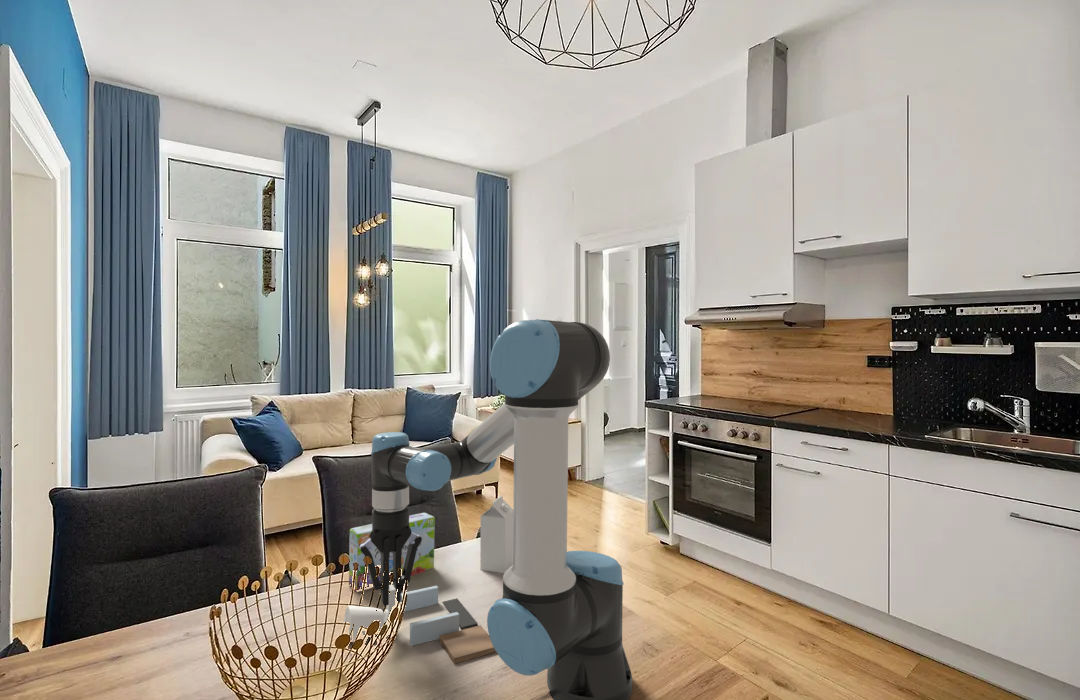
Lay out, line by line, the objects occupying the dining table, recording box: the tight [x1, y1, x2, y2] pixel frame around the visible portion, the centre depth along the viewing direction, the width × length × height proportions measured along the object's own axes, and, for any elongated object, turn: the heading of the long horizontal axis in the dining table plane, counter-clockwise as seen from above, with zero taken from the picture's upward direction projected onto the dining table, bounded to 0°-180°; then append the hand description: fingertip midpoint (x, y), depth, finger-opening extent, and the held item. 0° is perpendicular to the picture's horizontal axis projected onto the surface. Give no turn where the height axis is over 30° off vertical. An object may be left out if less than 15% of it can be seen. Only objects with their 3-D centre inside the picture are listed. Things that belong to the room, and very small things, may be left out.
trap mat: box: [442, 598, 479, 630], centre depth 120 cm, size 13×4×1 cm, turn 28°
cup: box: [343, 604, 389, 643], centre depth 110 cm, size 7×10×8 cm
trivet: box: [438, 624, 497, 665], centre depth 108 cm, size 9×9×1 cm
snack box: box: [348, 512, 436, 592], centre depth 138 cm, size 21×6×15 cm, turn 132°
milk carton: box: [479, 494, 513, 574], centre depth 145 cm, size 7×7×19 cm
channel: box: [400, 585, 460, 647], centre depth 117 cm, size 15×10×4 cm, turn 28°
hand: (391, 618), depth 114 cm, fingers closed
